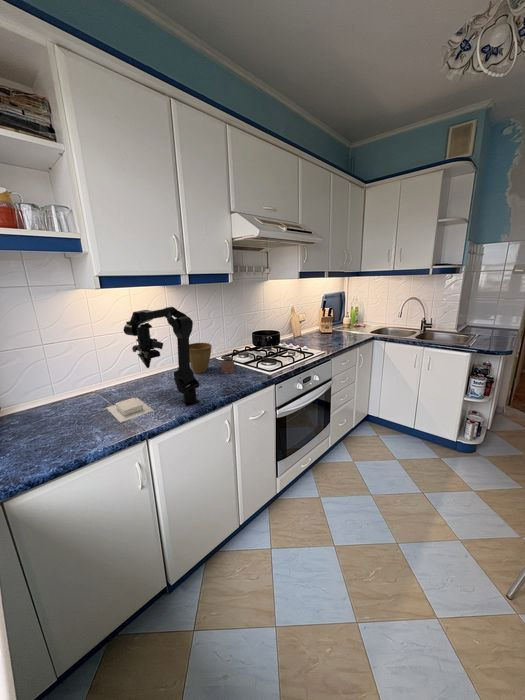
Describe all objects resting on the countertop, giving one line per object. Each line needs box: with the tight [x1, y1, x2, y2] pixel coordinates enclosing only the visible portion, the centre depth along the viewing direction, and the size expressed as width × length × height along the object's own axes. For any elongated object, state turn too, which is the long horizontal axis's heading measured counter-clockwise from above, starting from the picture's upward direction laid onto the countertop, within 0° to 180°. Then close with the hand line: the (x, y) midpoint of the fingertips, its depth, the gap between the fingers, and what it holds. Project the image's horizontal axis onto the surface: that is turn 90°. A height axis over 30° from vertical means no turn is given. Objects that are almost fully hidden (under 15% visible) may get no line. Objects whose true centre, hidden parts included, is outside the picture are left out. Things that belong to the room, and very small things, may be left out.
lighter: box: [220, 355, 236, 375], centre depth 170 cm, size 8×3×10 cm, turn 84°
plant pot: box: [189, 342, 212, 374], centre depth 172 cm, size 15×15×16 cm
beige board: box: [106, 397, 154, 423], centre depth 128 cm, size 18×14×1 cm
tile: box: [114, 397, 143, 416], centre depth 127 cm, size 2×8×10 cm
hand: (148, 367), depth 142 cm, fingers closed
